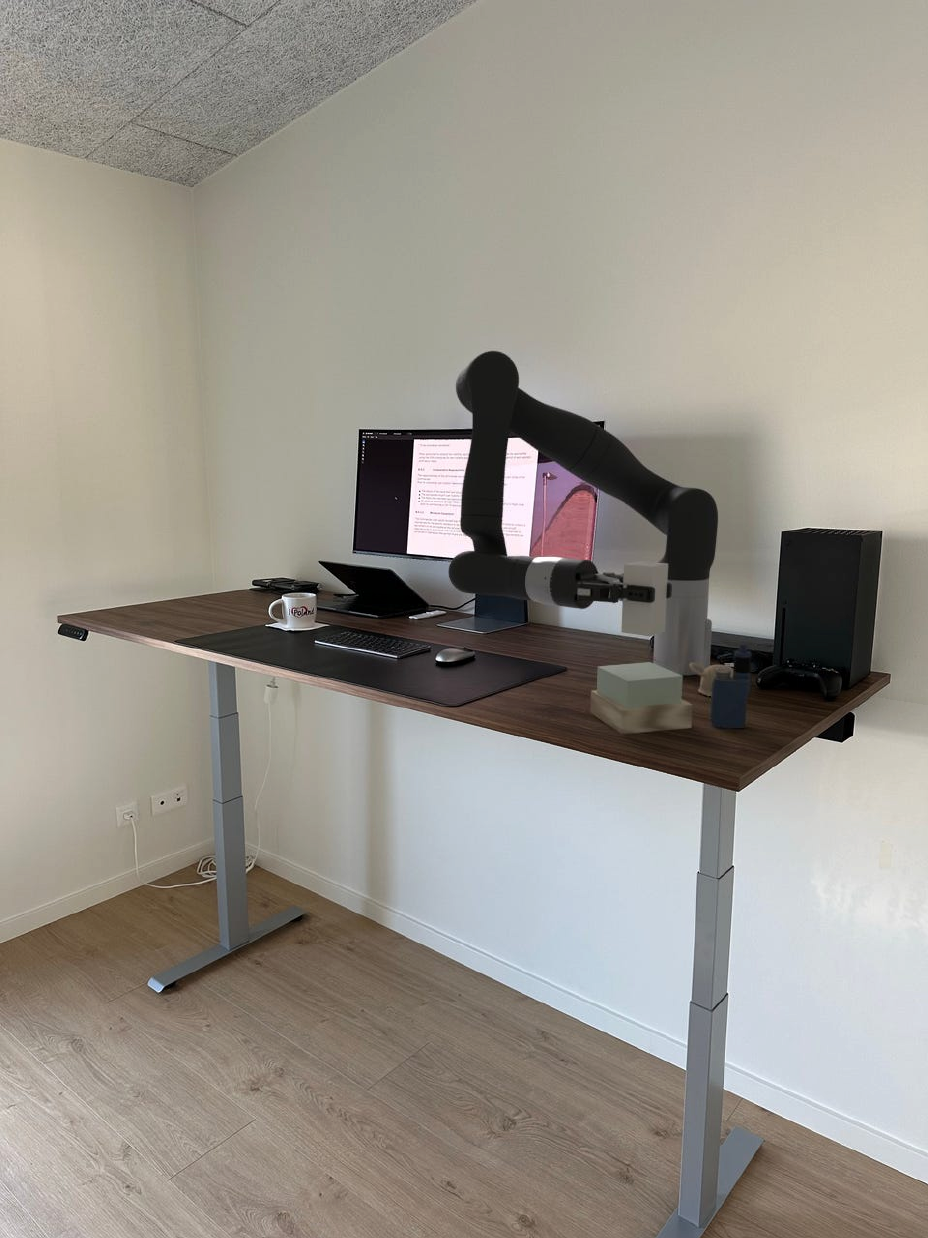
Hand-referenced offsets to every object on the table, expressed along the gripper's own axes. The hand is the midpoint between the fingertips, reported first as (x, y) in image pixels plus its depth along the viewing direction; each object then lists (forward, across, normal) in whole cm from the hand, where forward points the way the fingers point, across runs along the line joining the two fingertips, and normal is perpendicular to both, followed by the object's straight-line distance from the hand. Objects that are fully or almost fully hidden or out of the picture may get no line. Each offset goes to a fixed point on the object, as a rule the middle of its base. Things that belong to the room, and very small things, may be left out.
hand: (661, 592), depth 121 cm
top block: (-3, 0, +16) cm, 16 cm away
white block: (-3, 0, +6) cm, 7 cm away
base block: (-3, 0, +20) cm, 20 cm away
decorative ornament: (0, +21, +20) cm, 29 cm away
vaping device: (+9, +6, +20) cm, 22 cm away
